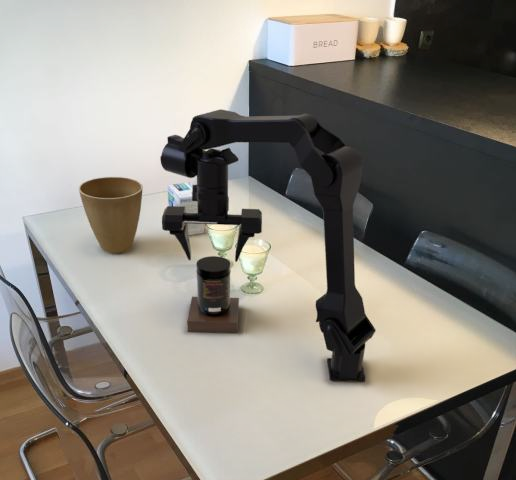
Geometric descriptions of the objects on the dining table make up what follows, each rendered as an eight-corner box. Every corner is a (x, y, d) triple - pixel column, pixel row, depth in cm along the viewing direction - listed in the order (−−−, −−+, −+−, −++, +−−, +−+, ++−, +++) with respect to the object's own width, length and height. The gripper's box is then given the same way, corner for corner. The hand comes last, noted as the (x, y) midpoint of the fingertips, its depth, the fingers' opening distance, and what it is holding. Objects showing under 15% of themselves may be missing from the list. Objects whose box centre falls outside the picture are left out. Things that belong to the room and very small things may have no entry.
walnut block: (237, 333, 120) (237, 322, 119) (187, 331, 120) (187, 321, 119) (238, 307, 129) (238, 297, 127) (192, 306, 129) (191, 296, 127)
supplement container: (227, 299, 126) (227, 255, 121) (233, 316, 121) (233, 270, 115) (195, 302, 125) (194, 257, 119) (200, 319, 120) (198, 272, 114)
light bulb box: (168, 222, 166) (166, 184, 160) (191, 218, 168) (190, 181, 162) (181, 237, 158) (179, 197, 152) (204, 233, 160) (204, 194, 154)
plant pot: (89, 263, 144) (80, 200, 135) (86, 238, 155) (77, 178, 146) (151, 257, 147) (146, 195, 138) (143, 233, 159) (138, 174, 150)
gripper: (262, 170, 117) (259, 244, 125) (167, 167, 116) (170, 241, 125) (263, 191, 107) (260, 268, 116) (159, 187, 107) (164, 265, 116)
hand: (213, 260), depth 119 cm, fingers open, 9 cm apart
